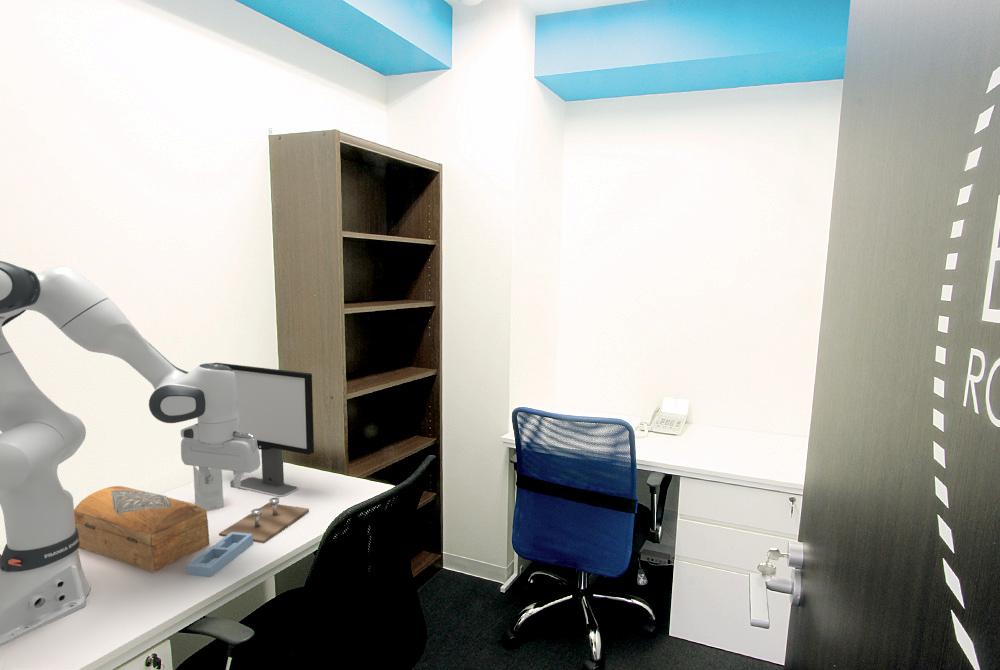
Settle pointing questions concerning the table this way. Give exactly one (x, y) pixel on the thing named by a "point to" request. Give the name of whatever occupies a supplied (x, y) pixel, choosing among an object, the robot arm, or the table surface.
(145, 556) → the wooden box
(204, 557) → the blue compartment tray
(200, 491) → the small box
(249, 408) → the computer monitor
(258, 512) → the steel bosses
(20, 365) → the robot arm
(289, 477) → the table surface
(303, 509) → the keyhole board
